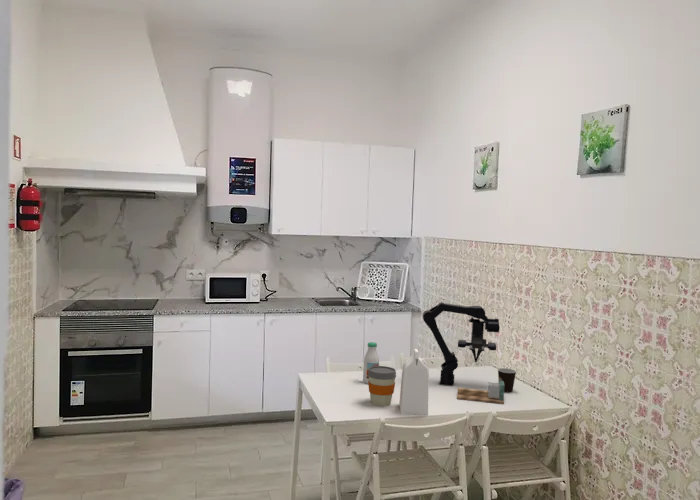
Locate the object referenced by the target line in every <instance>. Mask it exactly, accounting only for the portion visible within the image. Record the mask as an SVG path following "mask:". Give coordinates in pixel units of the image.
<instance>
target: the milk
mask: <svg viewBox="0 0 700 500" xmlns="http://www.w3.org/2000/svg"><path fill="white" fill-rule="evenodd" d="M401 369H402V371H401V379H400V380H401V382H400V391H399V392H400V393H399V401H398V402H399V410H400V415H401V414H404V415H405V414H406V415H422V416H423V415H424V416H425V415H426V416H428V415H429V387H430V386H429V385H430V381H429V379H430V378H429V377H430V375H429V368H428V365H427V361H426V360H425V359H424V358H423V357H420V356H419V349H417V348H414V349H413V354H412V355H411V356H410V357H408V359H406V360H405V361H404V362H403V363H402V367H401Z"/></svg>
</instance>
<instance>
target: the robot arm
mask: <svg viewBox="0 0 700 500" xmlns="http://www.w3.org/2000/svg"><path fill="white" fill-rule="evenodd" d="M443 312H448V313H455V314H462V315H467V316H469V317H471V318H470V319H468V322H469V323H471V324H472V325H471V339H470V341H471V342H468V341H467V340H465V339H459V340H457V341H458V342H457V347H458V348H466V347H469V350H470V351H471V353H472V355H473V359H474V362H475V363H477V362H478V360H479V357H480V355H481V353H482V352H484V351H485V348H487V349H488V350H489V351H497V344H496V343H495V342H489V341H488V342H487V339H485V338H484V331H486V332H487V333H498V334H499V332H500V330H501V329H500V327H501V326H500V319H499V318H489V317H488V316H487V315H486V310H485V309H484V308H483V307H482V306H480V305H470V306H469V305H467V306H464V305H459V304H452V303H445V302H443V301H442V302H439V303H438V304H436V305H435V306H433V307H431V308H430V309H427V310H424V311H423V313H422V320H423V322H424V323H425V325H426V326H427V327H428V328H429V330H430V331H431V333H432V335H433V337H434V339H435V341H436V343H437V345H438V347H439V349H440V350H441V353H442V356H443V359H444V362H443V363H441V364H440V367H441V370H440V379H439V385H442V386H443V385H444V386H454V384H455V374H454V372H455V370H456V369H458V366H459V363H458V362H459V360H458V357H456V354H455V351H452V352H451V351H450V349H449V347H448V345H447V344H446V342H445V340H444V337H443V335H442V333H441V331H440V329H439V328H438V324H437V321H436V318H437V317H439V315H441V314H442V313H443ZM476 349H477V351H476Z"/></svg>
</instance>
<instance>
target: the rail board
mask: <svg viewBox="0 0 700 500" xmlns="http://www.w3.org/2000/svg"><path fill="white" fill-rule="evenodd" d="M498 383H499V385H500V392H499V399H495V398H488V390H485V389H475V388H467V387H466V388H465V387H457V393H456V400H462V401H470V402H477V403H478V402H479V403H487V404H488V403H489V404H498V405H504V403H505V401H504V400H505V392H504V387H505V385H504V381H499V380H498Z"/></svg>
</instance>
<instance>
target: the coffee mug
mask: <svg viewBox="0 0 700 500" xmlns="http://www.w3.org/2000/svg"><path fill="white" fill-rule="evenodd" d="M497 374H498V375H497V376H498V382H499V381H504V385H505V387H504V393H513V390H514V386H515V379H516V374H517V370H515V369H512V368H507V367H506V368H502V367H501V368H498V369H497Z"/></svg>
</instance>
